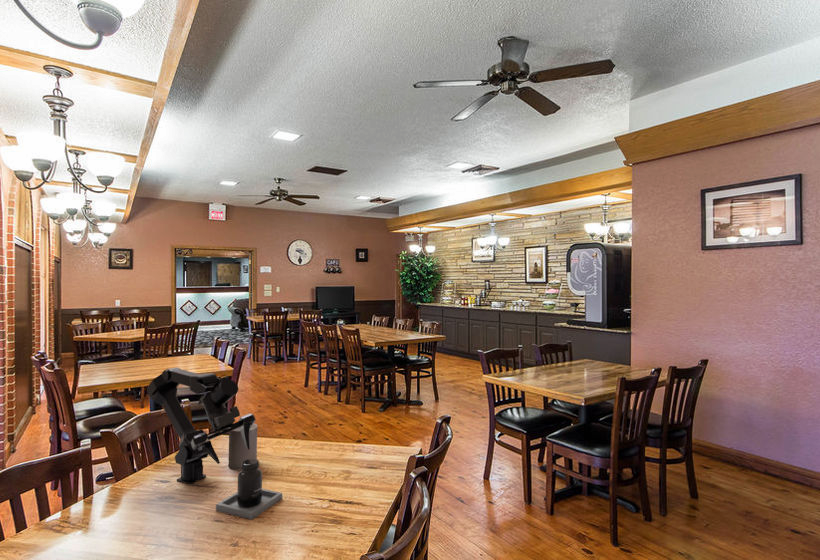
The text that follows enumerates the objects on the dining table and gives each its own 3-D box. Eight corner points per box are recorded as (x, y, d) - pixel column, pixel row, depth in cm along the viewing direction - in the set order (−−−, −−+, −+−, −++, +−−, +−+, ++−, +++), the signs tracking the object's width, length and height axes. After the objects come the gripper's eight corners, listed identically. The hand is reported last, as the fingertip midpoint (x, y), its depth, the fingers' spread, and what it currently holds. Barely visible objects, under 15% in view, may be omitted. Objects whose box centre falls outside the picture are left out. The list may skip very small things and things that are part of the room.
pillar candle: (222, 467, 158) (222, 424, 158) (242, 457, 167) (242, 417, 167) (243, 472, 155) (244, 428, 155) (262, 461, 164) (263, 420, 164)
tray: (215, 510, 128) (216, 504, 128) (248, 491, 140) (248, 485, 140) (251, 519, 123) (251, 513, 123) (282, 498, 135) (282, 493, 135)
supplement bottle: (260, 507, 129) (260, 465, 129) (235, 509, 128) (235, 467, 128) (263, 496, 136) (263, 456, 136) (239, 498, 135) (240, 458, 135)
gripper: (187, 414, 131) (206, 464, 126) (249, 390, 143) (268, 435, 138) (183, 425, 139) (201, 473, 134) (243, 402, 151) (260, 445, 146)
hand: (234, 456), depth 138 cm, fingers open, 9 cm apart
